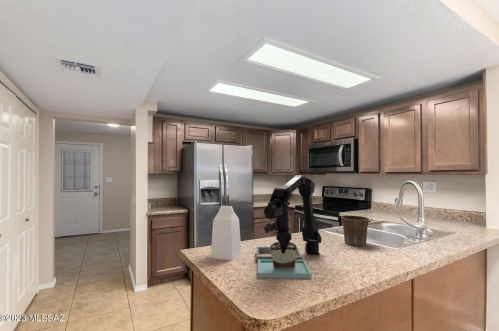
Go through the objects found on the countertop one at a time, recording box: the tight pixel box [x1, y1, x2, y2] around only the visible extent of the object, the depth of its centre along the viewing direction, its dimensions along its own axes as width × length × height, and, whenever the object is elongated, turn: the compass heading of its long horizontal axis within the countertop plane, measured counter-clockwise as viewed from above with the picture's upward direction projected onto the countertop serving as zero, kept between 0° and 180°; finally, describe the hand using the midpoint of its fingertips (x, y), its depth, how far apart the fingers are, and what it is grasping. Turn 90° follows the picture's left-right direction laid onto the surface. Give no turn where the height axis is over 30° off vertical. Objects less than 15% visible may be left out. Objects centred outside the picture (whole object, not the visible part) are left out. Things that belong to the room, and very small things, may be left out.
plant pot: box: [340, 214, 370, 247], centre depth 156 cm, size 16×16×16 cm
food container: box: [269, 241, 299, 268], centre depth 114 cm, size 12×6×10 cm, turn 85°
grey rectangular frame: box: [255, 246, 303, 264], centre depth 131 cm, size 22×17×3 cm
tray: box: [256, 259, 312, 280], centre depth 113 cm, size 22×17×2 cm
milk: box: [210, 205, 242, 261], centre depth 134 cm, size 12×12×26 cm
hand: (282, 251), depth 113 cm, fingers closed on food container, 6 cm apart
